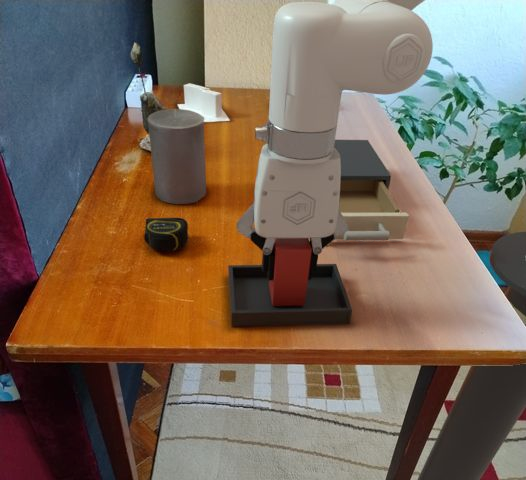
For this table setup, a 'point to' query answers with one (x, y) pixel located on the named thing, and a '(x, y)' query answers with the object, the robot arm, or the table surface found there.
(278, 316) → the tray
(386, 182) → the cabinet
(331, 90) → the robot arm
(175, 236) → the tape measure
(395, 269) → the table surface
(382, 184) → the drawer
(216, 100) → the napkin holder
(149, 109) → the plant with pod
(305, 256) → the card box
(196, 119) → the pillar candle
